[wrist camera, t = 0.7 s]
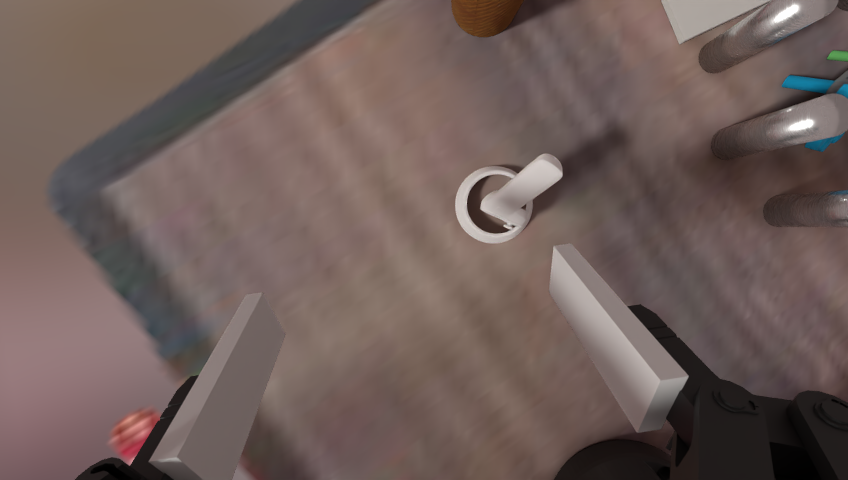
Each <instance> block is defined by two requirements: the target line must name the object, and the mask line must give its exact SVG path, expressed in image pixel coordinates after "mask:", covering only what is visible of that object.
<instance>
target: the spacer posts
mask: <svg viewBox="0 0 848 480" xmlns="http://www.w3.org/2000/svg"><path fill="white" fill-rule="evenodd" d="M836 6H838V7H839V8H840V9H842V10H845V11H848V0H772V1H770V2H769V3H767V4H766V5H764V6H763V7H761V8H760V9H758V10H757V11H755V12H754V13H752V14H751V15H749V16H748V17H746V18H745V19H743V20H742V21H740V22H739V23H737V24H736V25H734V26H733V27H731V28H730V29H728V30H727V31H725V32H724V33H722V34H721V35H719V36H718V37H716V38H715V39H713V40H712V41H710V42H709V43H707V44H706V45H704V46H703V48H702V49H701V51H700V53H699V63H700V65H701V67H702V68H703V69H704V70H705V71H707V72H709V73H720V72H722V71H724V70H726V69H728V68H729V67H731V66H733V65H735V64H737V63H739V62H741V61H743V60H744V59H746V58H748V57H750V56H752V55H754V54H756V53H758V52H759V51H761V50H763V49H765V48H767V47H769V46H771V45H773V44H775V43H776V42H778V41H780V40H782V39H784V38H786V37H788V36H790V35H791V34H793V33H795V32H797V31H799V30H801V29H803V28H805V27H806V26H808V25H810V24H812V23H814V22H816V21H818V20H820V19H822V18H823V17H825V16H827V15H829V14H830V13H831V12H832V11H833V10H834V9H835V8H836ZM847 130H848V99H847V98H846V97H844V96H843V95H840V94H827V95H824V96H821V97H818V98H815V99H812V100H809V101H806V102H803V103H800V104H797V105H794V106H791V107H788V108H785V109H782V110H779V111H776V112H773V113H770V114H767V115H764V116H760V117H757V118H754V119H751V120H748V121H745V122H742V123H739V124H736V125H733V126H730V127H727V128H724V129H721V130H719V131H718V132H717V133H716V134H715V135H714V137H713V139H712V142H711V148H712V151H713V153H714V154H715V155H716V156H717V157H718V158H720V159H724V160H729V159H734V158H738V157H743V156H748V155H752V154H757V153H761V152H766V151H771V150H775V149H780V148H784V147H789V146H794V145H798V144H803V143H807V142H812V141H816V140H821V139H826V138H830V137H835V136H838V135H841V134H843V133H844V132H845V131H847ZM763 214H764V218H765V220H766V221H767V222H768V223H769V224H770V225H772V226H776V227H848V190H842V191H830V192H818V193H805V194H793V195H780V196H775V197H773V198H771V199H770V200H768V201H767V203H766V204H765V206H764V210H763Z"/></svg>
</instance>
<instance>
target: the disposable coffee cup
mask: <svg viewBox="0 0 848 480" xmlns="http://www.w3.org/2000/svg"><path fill="white" fill-rule="evenodd" d="M523 1H524V0H451V3H452V12H453V15H454V18H455V20H456V22H457V23H458V25H459V26H460V27H461V28H462V29H463V30H464V31H466V32H467V33H469V34H471V35H473V36H478V37H489V36H494V35H496V34H498V33H500V32H502V31H503V30H505V29H506V28H507V27H508V26H509V24H510V23H511V22H512V20H513V18H514V16H515V15H516V13H517V11H518V10H519V8H520V6H521V5H522V3H523Z"/></svg>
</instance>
